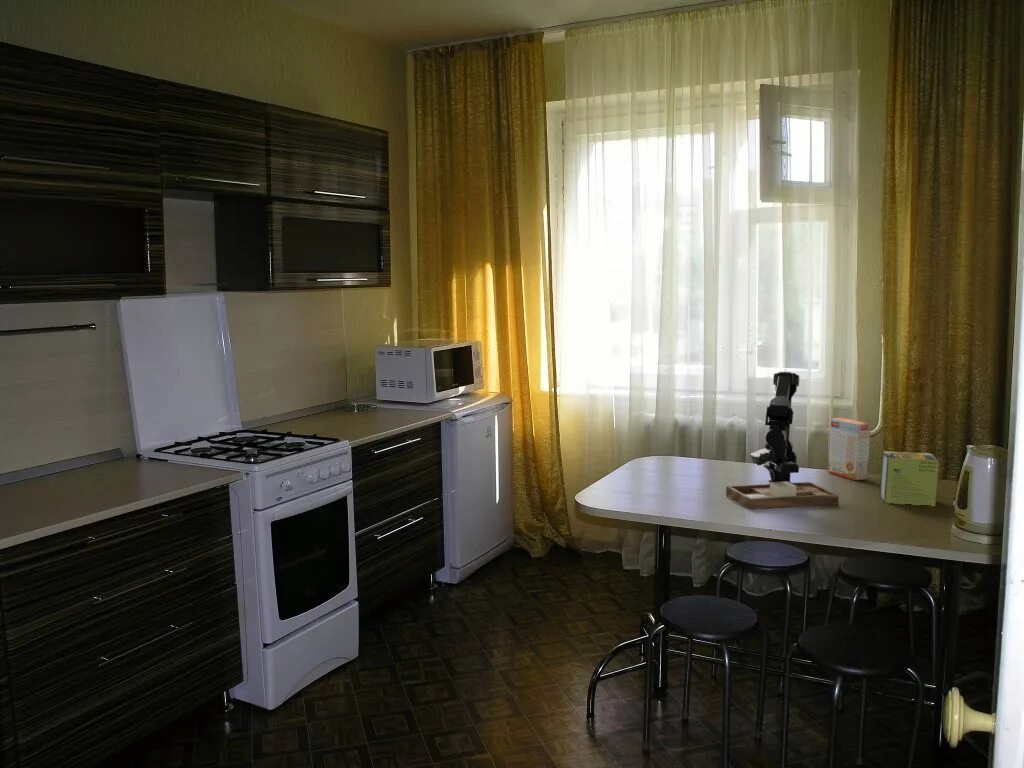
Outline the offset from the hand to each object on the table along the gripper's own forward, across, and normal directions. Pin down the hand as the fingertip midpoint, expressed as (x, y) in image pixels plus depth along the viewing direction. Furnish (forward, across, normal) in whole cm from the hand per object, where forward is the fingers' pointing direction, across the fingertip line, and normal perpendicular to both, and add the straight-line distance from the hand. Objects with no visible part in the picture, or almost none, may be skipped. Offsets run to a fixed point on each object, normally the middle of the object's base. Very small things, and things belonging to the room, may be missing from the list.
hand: (775, 487), depth 284 cm
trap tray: (+4, +1, +2) cm, 5 cm away
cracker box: (+4, -25, +43) cm, 50 cm away
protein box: (+4, +9, +43) cm, 44 cm away
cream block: (+2, +4, 0) cm, 5 cm away
